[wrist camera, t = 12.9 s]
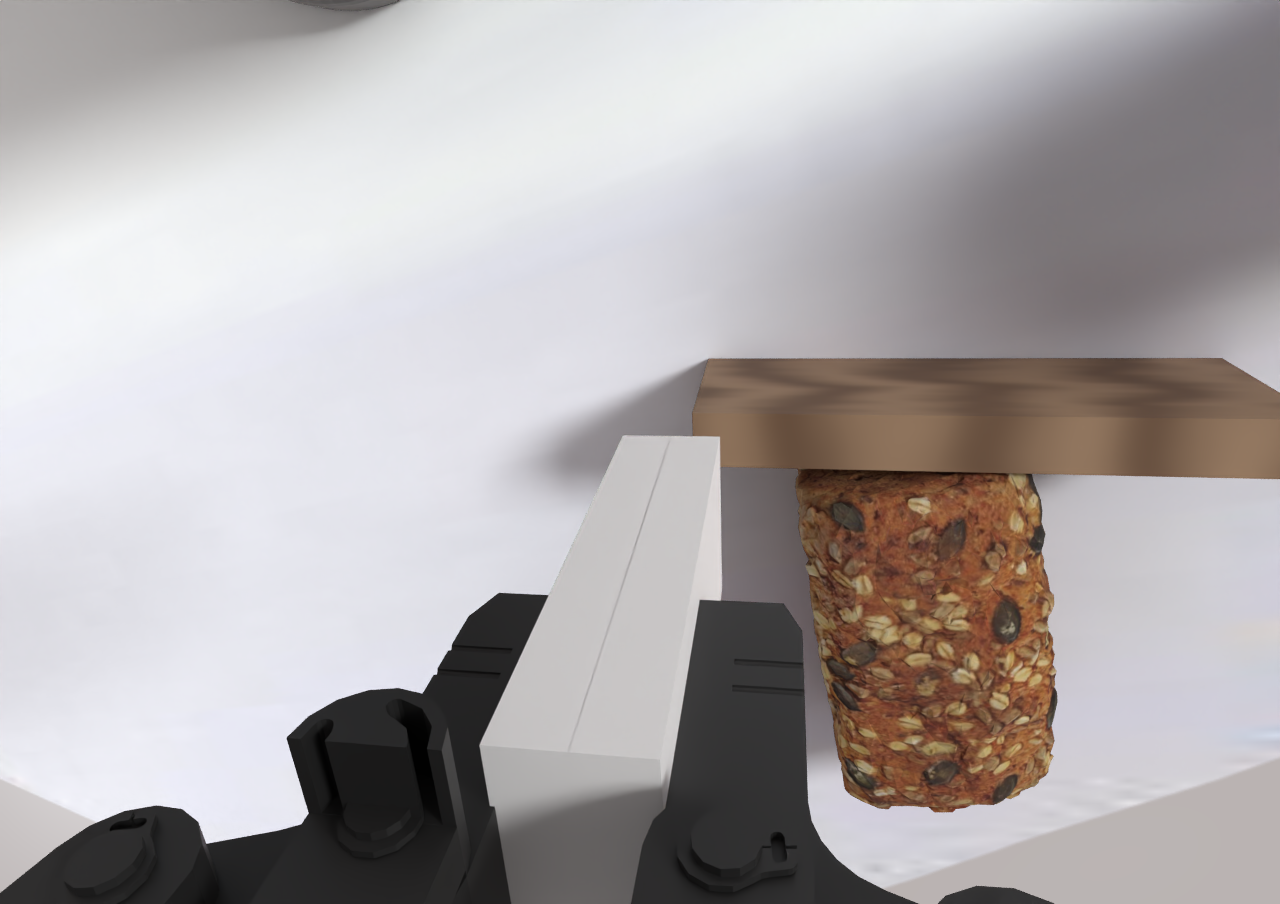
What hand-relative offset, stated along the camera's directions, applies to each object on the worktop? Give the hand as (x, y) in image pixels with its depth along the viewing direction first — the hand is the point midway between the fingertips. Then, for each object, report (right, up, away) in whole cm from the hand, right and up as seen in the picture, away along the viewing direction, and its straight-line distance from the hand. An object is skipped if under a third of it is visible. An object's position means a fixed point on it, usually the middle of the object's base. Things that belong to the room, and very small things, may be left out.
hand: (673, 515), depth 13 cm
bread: (+15, -6, +32) cm, 36 cm away
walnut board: (+15, +4, +28) cm, 32 cm away
